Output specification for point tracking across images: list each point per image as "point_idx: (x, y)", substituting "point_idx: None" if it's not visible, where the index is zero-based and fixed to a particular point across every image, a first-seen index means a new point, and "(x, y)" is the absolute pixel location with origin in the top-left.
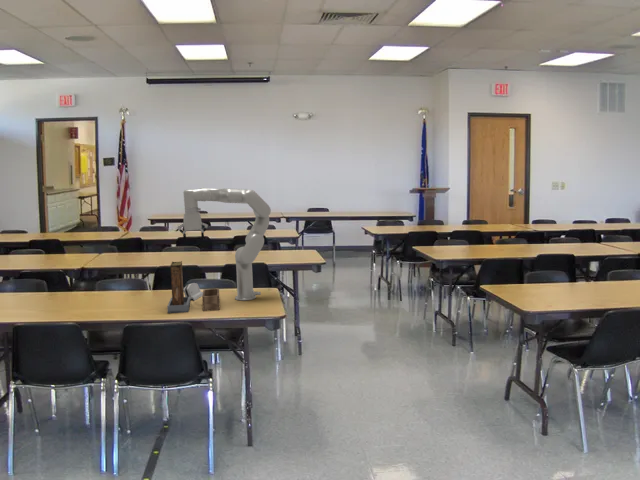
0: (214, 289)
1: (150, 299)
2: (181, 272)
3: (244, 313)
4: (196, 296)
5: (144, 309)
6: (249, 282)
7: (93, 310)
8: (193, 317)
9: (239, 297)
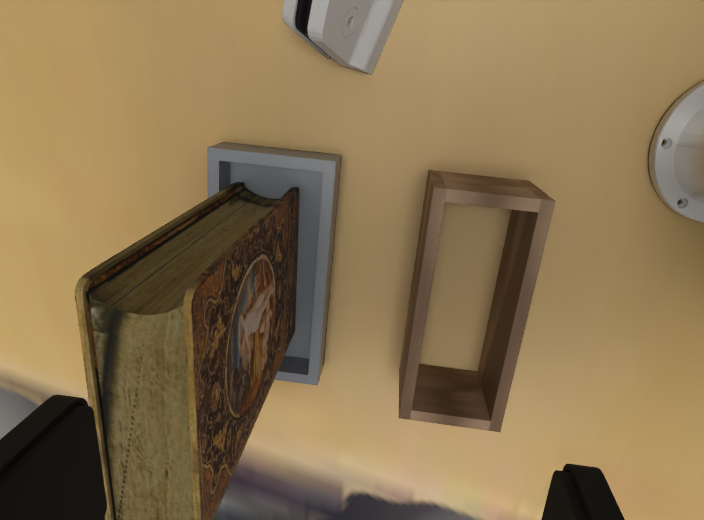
0: (515, 208)
1: None
2: (231, 411)
3: None
4: (389, 14)
5: (85, 215)
6: None
7: None
8: (345, 464)
9: (680, 182)
